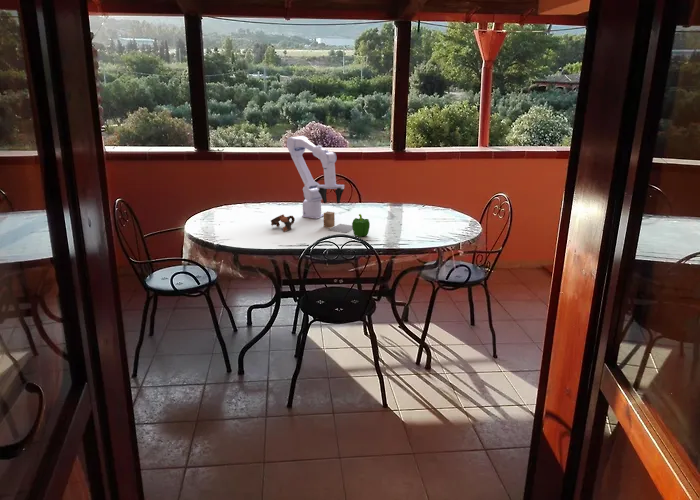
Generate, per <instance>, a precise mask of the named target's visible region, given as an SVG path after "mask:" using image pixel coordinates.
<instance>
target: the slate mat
mask: <svg viewBox="0 0 700 500" xmlns="http://www.w3.org/2000/svg"><path fill="white" fill-rule="evenodd" d="M328 231H333V232H336V233H337V232H338V233H344V234H347V233H349V232H350V231H353V228H352V224H345V223H339V224H337V225H335V226H333V227H331V228H329V229H328Z"/></svg>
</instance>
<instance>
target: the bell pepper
mask: <svg viewBox="0 0 700 500" xmlns="http://www.w3.org/2000/svg"><path fill="white" fill-rule="evenodd" d="M358 216H359V218H357V217H355V218H354V219H353V221H352V222H351V225H352V228H353V230H352V231H353V234H354V236H355V237H367V236H368V234H369V230H370V226H371V225H370V220H369V219H368V218H363V216H362V214H361V213H359V214H358Z"/></svg>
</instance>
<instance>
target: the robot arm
mask: <svg viewBox="0 0 700 500" xmlns="http://www.w3.org/2000/svg"><path fill="white" fill-rule="evenodd" d="M286 147H287V149H288V153H289V154H290V157H291V159H292V161H293V163H294V165H295V168H296V169H297V171H298V174H299V176H300V178H301V180H302V182H303V185H304V186H303V188H302V191H303V197H304V200H303V202H302V216H301V217H303V218H310V219H316V220H318V219H320V218H322V217H324V213H323V214H322V201H323V204H326V203H327V201H328V198H327V191H328V190H334V191H335V196H336V204H340V203H341V198H342V194H343V192H344V189H345V184H338V183H337V178H336V176H337V175H336V164H335V163H336V162H337V158H338V157H337V154H336V152H334V151H329V150H328V149H326V148H324V147H323V146H322V145H315V143H313V142H311V141H310V140H309V139H308V137H307V136H305V135H298V136H289V137H288V138H287V141H286ZM306 150H308V151H310V152H312V155H313V157H315V158H318V160H320V163H321V165H322V166H321V167H322V168H323V178H324V179H323V180H324V184H320V183H319V182H317V181H315V179H314V178H313V175H312V174H311V171H310V169H309V167H308V166H307V165H308V164H306V160H305V159H304V157H303V154H304V153H305V151H306Z"/></svg>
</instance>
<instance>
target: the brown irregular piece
mask: <svg viewBox="0 0 700 500" xmlns="http://www.w3.org/2000/svg"><path fill="white" fill-rule="evenodd" d="M290 220H291V221H290ZM270 222H271V224H270V225H271V226H276V227H278V228H279V227H280V225H281V224H280V222H281V223H283V224H284V226H283V227H282V230H283V232H284V233H285V232H287V231H289V230H292V225H293V224H294V223H295V217H294V216H293V215H288V216H286V215H285V214H280V215H278V216H276V217H275V218H272V219H270Z"/></svg>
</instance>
